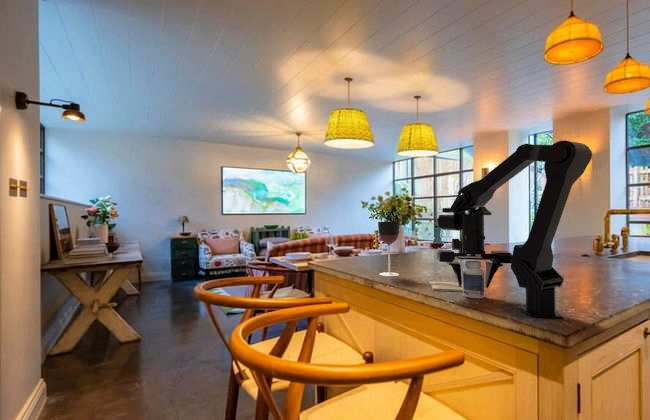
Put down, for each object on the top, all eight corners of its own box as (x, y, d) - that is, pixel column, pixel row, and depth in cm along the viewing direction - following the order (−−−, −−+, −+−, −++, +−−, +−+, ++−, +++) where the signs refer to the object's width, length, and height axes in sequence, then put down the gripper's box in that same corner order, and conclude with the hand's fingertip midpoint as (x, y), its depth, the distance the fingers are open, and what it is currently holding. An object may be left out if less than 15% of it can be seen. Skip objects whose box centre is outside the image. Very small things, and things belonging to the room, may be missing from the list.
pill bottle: (486, 299, 87) (486, 263, 87) (465, 298, 88) (465, 262, 88) (481, 294, 92) (480, 260, 92) (461, 293, 93) (460, 259, 93)
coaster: (469, 291, 95) (469, 289, 95) (433, 290, 97) (433, 288, 97) (461, 284, 105) (461, 282, 105) (429, 283, 106) (429, 281, 106)
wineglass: (403, 273, 124) (402, 221, 124) (395, 277, 117) (394, 222, 117) (383, 271, 129) (383, 221, 129) (375, 275, 121) (374, 222, 121)
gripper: (499, 230, 96) (499, 282, 96) (433, 229, 100) (434, 280, 100) (513, 232, 85) (514, 291, 85) (439, 232, 89) (440, 288, 89)
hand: (473, 287), depth 90 cm, fingers open, 7 cm apart
